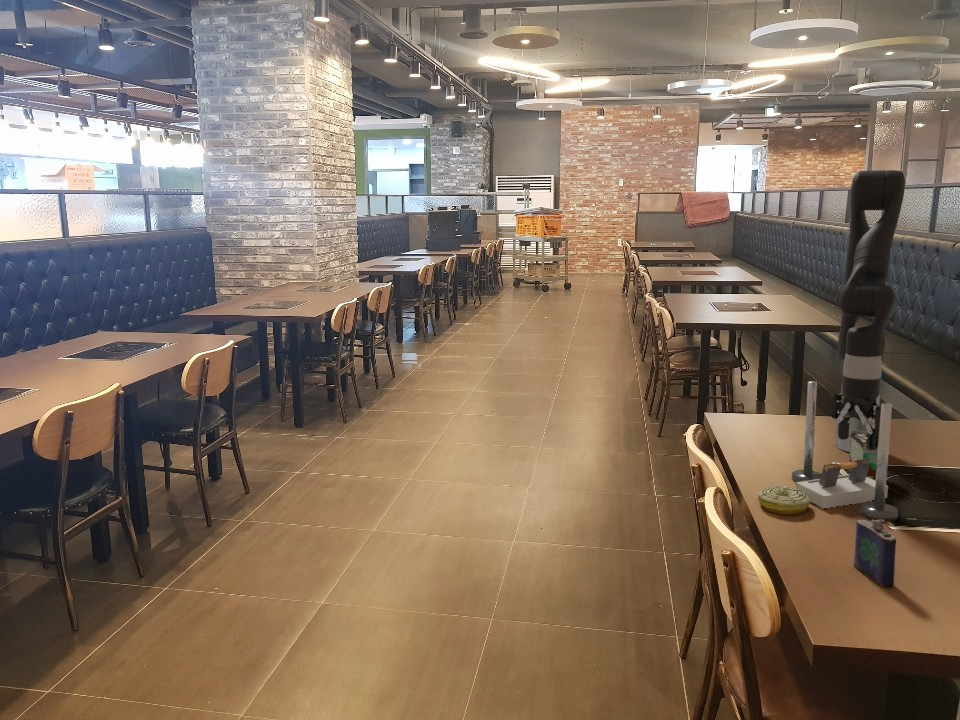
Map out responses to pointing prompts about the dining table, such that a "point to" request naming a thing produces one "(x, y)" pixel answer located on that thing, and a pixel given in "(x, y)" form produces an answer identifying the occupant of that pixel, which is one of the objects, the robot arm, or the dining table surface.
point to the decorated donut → (783, 500)
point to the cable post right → (881, 473)
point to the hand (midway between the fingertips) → (857, 444)
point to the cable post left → (808, 438)
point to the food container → (862, 451)
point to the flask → (875, 552)
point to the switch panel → (839, 492)
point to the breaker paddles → (833, 470)
